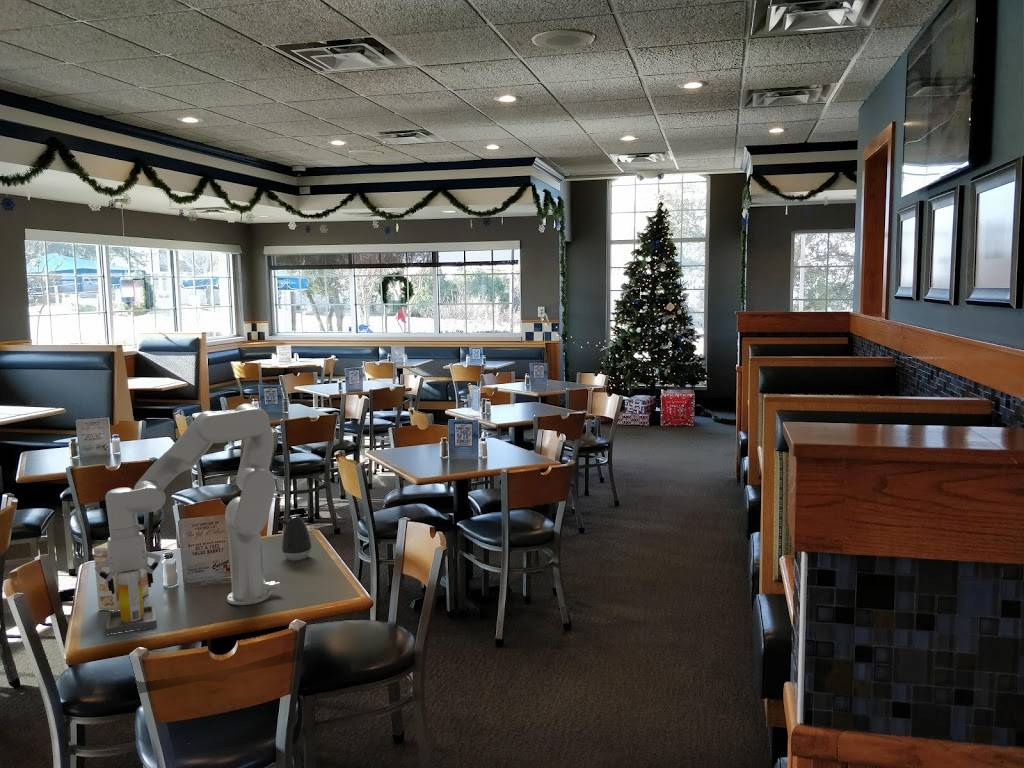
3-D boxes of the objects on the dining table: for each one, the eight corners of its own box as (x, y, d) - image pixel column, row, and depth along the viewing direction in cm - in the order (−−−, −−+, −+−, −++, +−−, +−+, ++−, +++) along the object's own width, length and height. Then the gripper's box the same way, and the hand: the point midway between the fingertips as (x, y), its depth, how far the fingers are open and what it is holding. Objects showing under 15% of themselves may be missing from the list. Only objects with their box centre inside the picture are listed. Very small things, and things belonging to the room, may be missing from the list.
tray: (155, 611, 254) (155, 604, 253) (156, 626, 242) (156, 620, 241) (107, 619, 248) (106, 612, 248) (106, 635, 237) (105, 629, 236)
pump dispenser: (282, 555, 302) (280, 513, 300) (312, 552, 304) (310, 511, 302) (280, 564, 292) (277, 521, 290) (311, 562, 294) (309, 519, 292)
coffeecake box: (118, 612, 253) (112, 549, 251) (97, 610, 255) (91, 547, 253) (150, 593, 268) (145, 533, 265) (130, 592, 270) (125, 532, 267)
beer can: (137, 614, 249) (133, 565, 247) (148, 619, 245) (143, 569, 243) (117, 621, 245) (112, 570, 243) (127, 626, 241) (122, 575, 239)
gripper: (156, 523, 249) (163, 579, 251) (91, 533, 242) (98, 591, 244) (157, 529, 242) (164, 587, 244) (90, 540, 235) (98, 599, 237)
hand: (131, 589), depth 244 cm, fingers open, 9 cm apart
